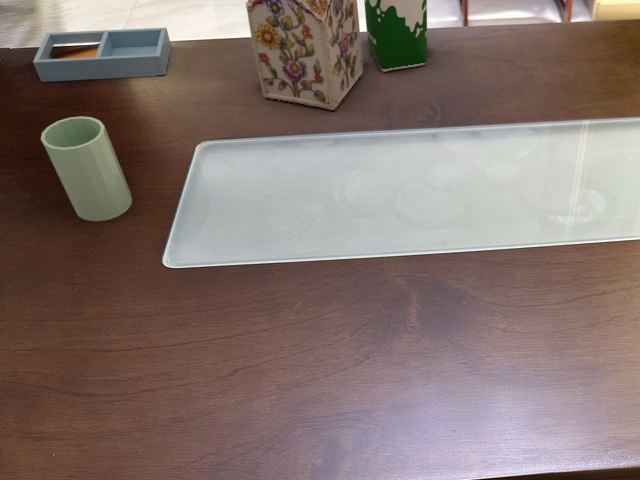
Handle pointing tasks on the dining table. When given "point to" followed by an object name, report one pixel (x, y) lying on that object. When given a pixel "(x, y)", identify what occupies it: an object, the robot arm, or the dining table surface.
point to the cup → (87, 167)
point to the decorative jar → (306, 49)
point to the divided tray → (104, 55)
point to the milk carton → (397, 31)
